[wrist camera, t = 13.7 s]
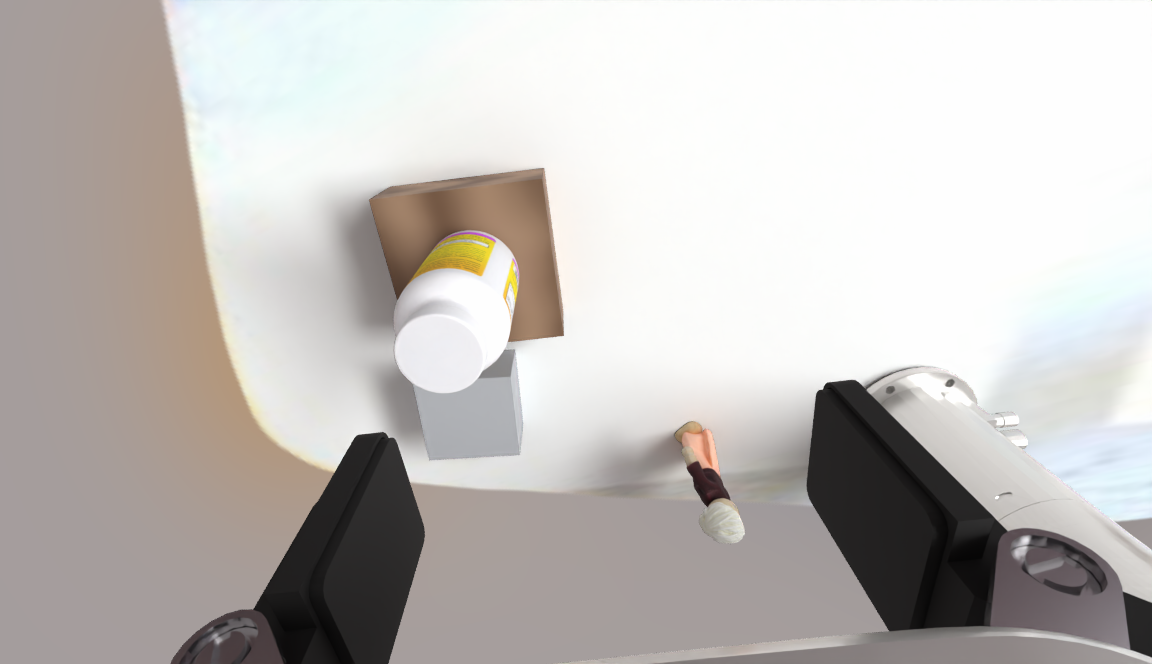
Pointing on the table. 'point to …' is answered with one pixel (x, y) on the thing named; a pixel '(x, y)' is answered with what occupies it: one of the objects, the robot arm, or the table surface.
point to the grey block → (475, 415)
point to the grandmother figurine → (710, 485)
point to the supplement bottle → (456, 312)
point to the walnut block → (486, 205)
